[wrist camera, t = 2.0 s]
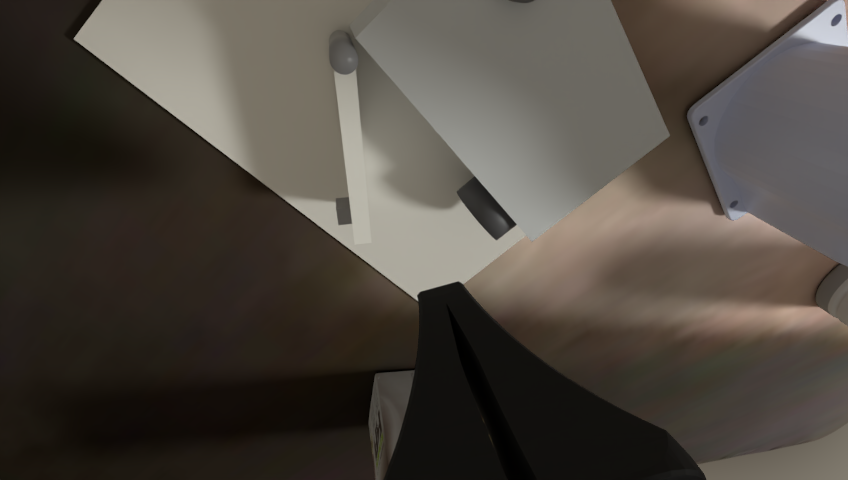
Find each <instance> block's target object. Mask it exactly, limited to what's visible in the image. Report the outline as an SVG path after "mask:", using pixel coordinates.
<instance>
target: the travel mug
mask: <svg viewBox="0 0 848 480" xmlns="http://www.w3.org/2000/svg"><path fill="white" fill-rule="evenodd" d="M816 303H817V305H818V306H819V307H820V308H822V309H823V310H825V311H826V312H828V313H829V314H831V315H832V316H834V317H836V318H838V319H839V320H840V321H841V322H843V323H844V324H846V325H847V326H848V267H847V266H845V265H843V264H839V265H838V266H837V267H836V268H835V269H833V270H832V271H831V272H830V273H829V274H828V275H827V276H826V277H825V279H824V280H823V281H822V283H821V284H820V286H819V288H818V290H817V293H816Z"/></svg>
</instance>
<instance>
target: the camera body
mask: <svg viewBox="0 0 848 480" xmlns="http://www.w3.org/2000/svg"><path fill="white" fill-rule="evenodd" d="M349 26H350V28H351V30H352V32H353V34H354V36H355V38H356V39H357V41H358V42H359V43H360V44H361V45H362V46H363V47H364V49H365V50H366V51H367V52H368V53H369V54H370V56H371V57H372V58H373V59H374V60H375V61H376V62H377V64H378V65H379V66H380V67H381V68H382V69H383V71H384V72H385V73H386V74H387V75H388V76H389V77H390V79H391V80H392V81H393V82H394V83H395V84H396V86H397V87H398V88H399V89H400V90H401V91H402V92H403V94H404V95H405V96H406V97H407V98H408V99H409V101H410V102H411V103H412V104H413V105H414V106H415V107H416V109H417V110H418V111H419V112H420V113H421V114H422V116H423V117H424V118H425V119H426V120H427V121H428V122H429V124H430V125H431V126H432V127H433V128H434V129H435V131H436V132H437V133H438V134H439V135H440V136H441V137H442V139H443V140H444V141H445V142H446V143H447V144H448V146H449V147H450V148H451V149H452V150H453V151H454V152H455V154H456V155H457V156H458V157H459V158H460V159H461V161H462V162H463V163H464V164H465V165H466V166H467V167H468V169H469V170H470V171H471V172H472V173H473V174H474V177H473V178H472V179H471V180H469V181H468V182H467V183H466V184H465V185H463V186H462V187H461V188H460V189H459V190H458V191H457V194H458V196H459V197H460V199H461V200H462V202H463V203H464V205H465V206H466V207H467V209H468V210H469V211H470V212H471V214H472V215H473V216H474V217H475V219H476V220H477V221H478V222H479V223H480V224H481V226H482V227H483V228H484V229H485V230H486V231H487V232H488V233H489V234H490V235H491V236H492V237H493V238H494V239H495V240H498V239H499V238H501V237H502V236H503V235H504V234H506V233H507V232H508V231H510V230H511V229H512V228H513V227H515V226H516V225H518V226H519V227H520V229H521V230H522V231H523V232H524V233H525V234H526V236H527V237H528V238H529V239H530V240H531V241H534V240H535V239H536V238H538V237H539V236H540V235H542V234H543V233H544V232H546V231H547V230H548V229H549V228H551V227H552V226H553V225H555V224H556V223H557V222H559V221H560V220H561V219H562V218H564V217H565V216H566V215H568V214H569V213H570V212H572V211H573V210H574V209H575V208H577V207H578V206H579V205H581V204H582V203H583V202H585V201H586V200H587V199H589V198H590V197H591V196H592V195H594V194H595V193H596V192H598V191H599V190H600V189H602V188H603V187H604V186H605V185H607V184H608V183H609V182H611V181H612V180H613V179H615V178H616V177H617V176H618V175H620V174H621V173H622V172H624V171H625V170H626V169H628V168H629V167H630V166H631V165H633V164H634V163H635V162H637V161H638V160H639V159H641V158H642V157H643V156H645V155H646V154H647V153H648V152H650V151H651V150H652V149H654V148H655V147H656V146H658V145H659V144H660V143H661V142H663V141H664V140H665V139H667V138H668V137H669V136H670V134H669V132H668V130H667V127H666V125H665V123H664V121H663V118H662V116H661V114H660V111H659V109H658V107H657V105H656V102H655V100H654V98H653V95H652V93H651V91H650V89H649V86H648V84H647V82H646V79H645V77H644V75H643V72H642V70H641V68H640V66H639V63H638V61H637V59H636V56H635V54H634V52H633V50H632V47H631V45H630V43H629V40H628V38H627V36H626V34H625V31H624V29H623V27H622V24H621V22H620V20H619V18H618V15H617V13H616V11H615V8H614V6H613V4H612V2H611V0H373V1H372V2H371V3H370V4H369V5H368V6H367V7H366V8H365V9H364V10H363V11H362V12H361V13H360V14H359V16H358V17H357V18H356V19H355V20H354V21H353V22H352V23H351V24H350V25H349Z"/></svg>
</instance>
